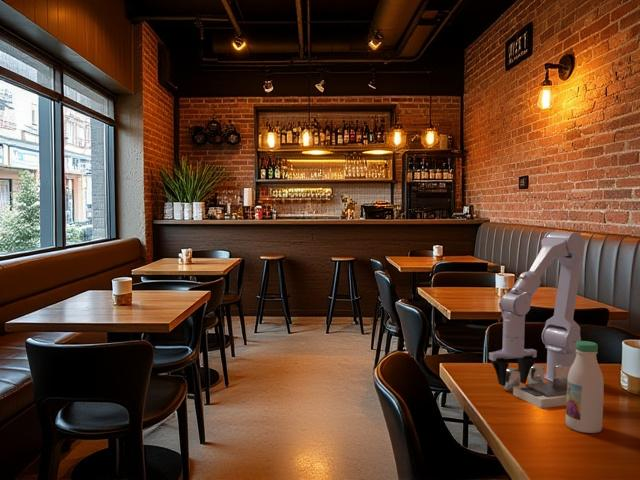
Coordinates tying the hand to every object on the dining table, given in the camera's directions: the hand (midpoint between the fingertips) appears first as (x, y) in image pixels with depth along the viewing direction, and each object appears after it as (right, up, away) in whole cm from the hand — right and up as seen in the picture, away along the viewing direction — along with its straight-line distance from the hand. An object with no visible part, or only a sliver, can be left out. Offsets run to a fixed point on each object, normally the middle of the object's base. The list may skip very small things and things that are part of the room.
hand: (512, 383), depth 160 cm
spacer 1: (0, -1, 0) cm, 2 cm away
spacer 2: (+8, -1, +3) cm, 9 cm away
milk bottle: (+7, -3, -28) cm, 29 cm away
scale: (+7, -2, -8) cm, 11 cm away
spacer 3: (+11, +1, -7) cm, 13 cm away
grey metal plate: (+8, +1, -8) cm, 11 cm away
